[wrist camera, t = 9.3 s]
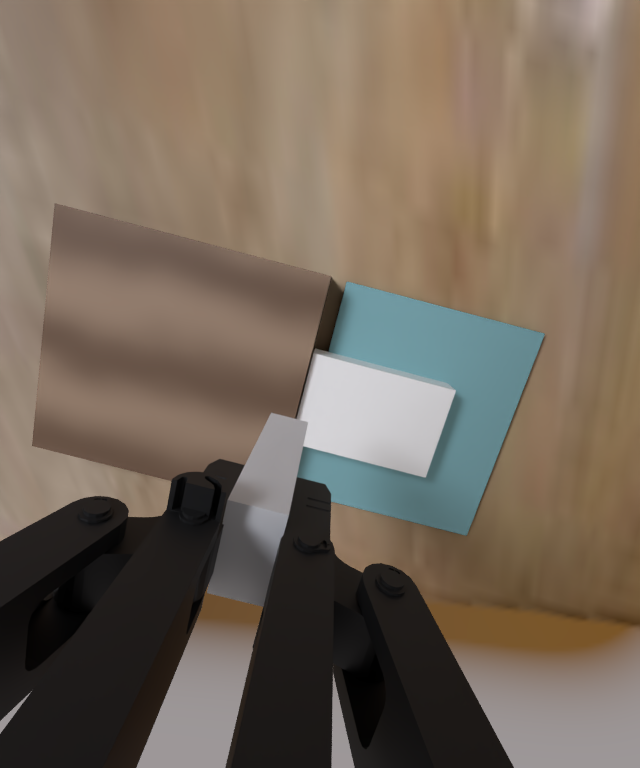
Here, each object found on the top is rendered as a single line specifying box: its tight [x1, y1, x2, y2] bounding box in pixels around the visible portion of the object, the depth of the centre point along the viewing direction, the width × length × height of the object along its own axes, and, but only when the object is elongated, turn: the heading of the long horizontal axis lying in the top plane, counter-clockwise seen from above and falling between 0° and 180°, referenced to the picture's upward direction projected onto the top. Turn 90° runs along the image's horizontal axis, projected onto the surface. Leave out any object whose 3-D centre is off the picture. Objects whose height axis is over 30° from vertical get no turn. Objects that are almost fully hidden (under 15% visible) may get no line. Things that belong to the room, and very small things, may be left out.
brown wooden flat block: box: [32, 204, 332, 481], centre depth 26 cm, size 15×16×3 cm
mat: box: [297, 282, 545, 536], centre depth 28 cm, size 15×13×1 cm
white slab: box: [297, 348, 456, 478], centre depth 26 cm, size 6×9×2 cm, turn 76°
